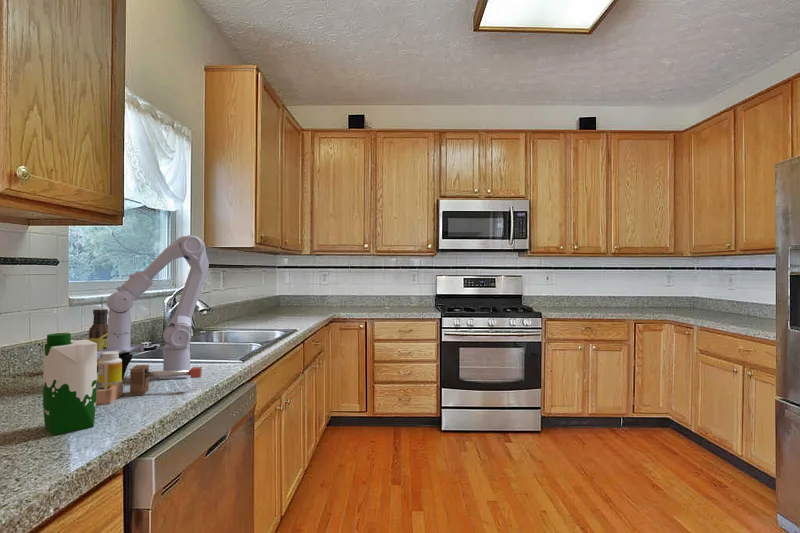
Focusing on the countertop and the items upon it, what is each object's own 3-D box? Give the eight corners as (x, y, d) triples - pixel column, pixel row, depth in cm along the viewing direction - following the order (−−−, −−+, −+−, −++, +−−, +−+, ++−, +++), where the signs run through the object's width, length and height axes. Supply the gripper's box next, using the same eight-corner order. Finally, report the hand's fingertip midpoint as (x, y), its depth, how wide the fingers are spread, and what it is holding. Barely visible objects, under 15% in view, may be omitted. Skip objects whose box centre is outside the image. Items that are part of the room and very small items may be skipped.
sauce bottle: (106, 371, 147) (107, 309, 147) (84, 372, 146) (85, 310, 146) (113, 367, 153) (114, 308, 153) (92, 368, 152) (93, 308, 152)
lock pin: (136, 378, 125) (136, 369, 125) (201, 375, 128) (201, 367, 128) (133, 380, 122) (134, 371, 122) (199, 377, 126) (199, 368, 126)
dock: (80, 395, 120) (80, 383, 120) (122, 393, 123) (123, 381, 123) (64, 406, 112) (64, 392, 112) (110, 403, 114) (110, 390, 114)
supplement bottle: (125, 386, 130) (126, 350, 130) (115, 392, 124) (115, 354, 124) (104, 386, 129) (105, 350, 129) (93, 392, 124) (94, 354, 124)
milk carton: (38, 427, 97) (40, 333, 97) (88, 417, 104) (90, 329, 104) (48, 438, 91) (49, 338, 91) (100, 426, 98) (102, 333, 98)
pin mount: (136, 390, 126) (136, 364, 126) (148, 390, 127) (148, 364, 127) (130, 396, 121) (130, 369, 121) (142, 395, 122) (142, 368, 122)
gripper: (104, 337, 125) (103, 387, 125) (151, 330, 139) (150, 375, 139) (87, 335, 128) (86, 384, 128) (134, 329, 141) (134, 373, 141)
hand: (118, 379), depth 133 cm, fingers closed
